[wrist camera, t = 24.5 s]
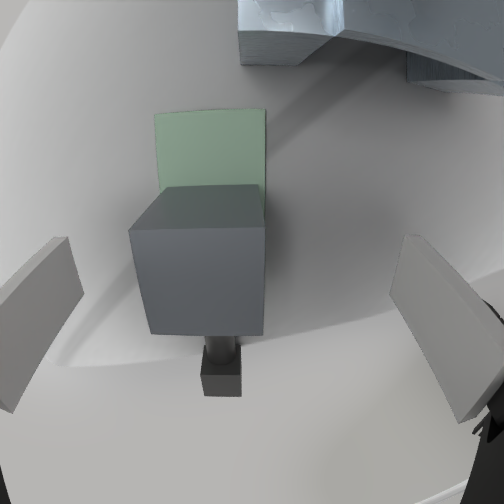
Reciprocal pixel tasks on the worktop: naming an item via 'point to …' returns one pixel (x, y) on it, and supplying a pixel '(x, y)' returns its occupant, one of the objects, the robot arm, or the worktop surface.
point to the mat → (211, 148)
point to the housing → (385, 36)
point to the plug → (204, 272)
